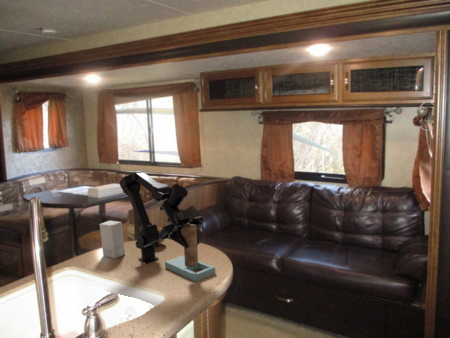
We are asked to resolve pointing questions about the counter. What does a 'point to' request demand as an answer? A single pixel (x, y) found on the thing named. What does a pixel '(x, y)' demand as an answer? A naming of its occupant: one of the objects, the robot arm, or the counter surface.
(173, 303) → the counter surface
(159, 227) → the onion
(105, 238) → the skincare box
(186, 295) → the counter surface
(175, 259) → the socket stand
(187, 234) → the pepper mill
